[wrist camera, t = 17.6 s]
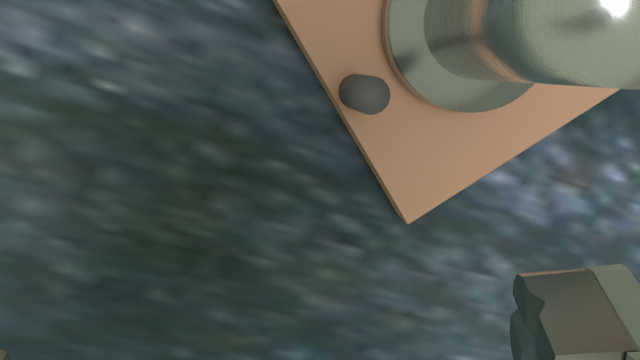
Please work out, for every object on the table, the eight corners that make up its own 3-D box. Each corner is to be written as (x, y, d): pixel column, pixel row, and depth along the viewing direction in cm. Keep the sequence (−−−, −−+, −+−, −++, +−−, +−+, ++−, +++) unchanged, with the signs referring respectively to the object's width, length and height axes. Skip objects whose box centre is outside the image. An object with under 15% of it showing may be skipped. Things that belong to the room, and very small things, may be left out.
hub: (348, -11, 27) (456, -66, 15) (498, -100, 27) (712, -219, 16) (429, 141, 29) (578, 194, 17) (568, 55, 30) (802, 51, 18)
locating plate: (253, -32, 28) (261, -48, 23) (509, -188, 28) (563, -232, 24) (398, 216, 31) (429, 242, 27) (622, 73, 32) (687, 76, 28)
